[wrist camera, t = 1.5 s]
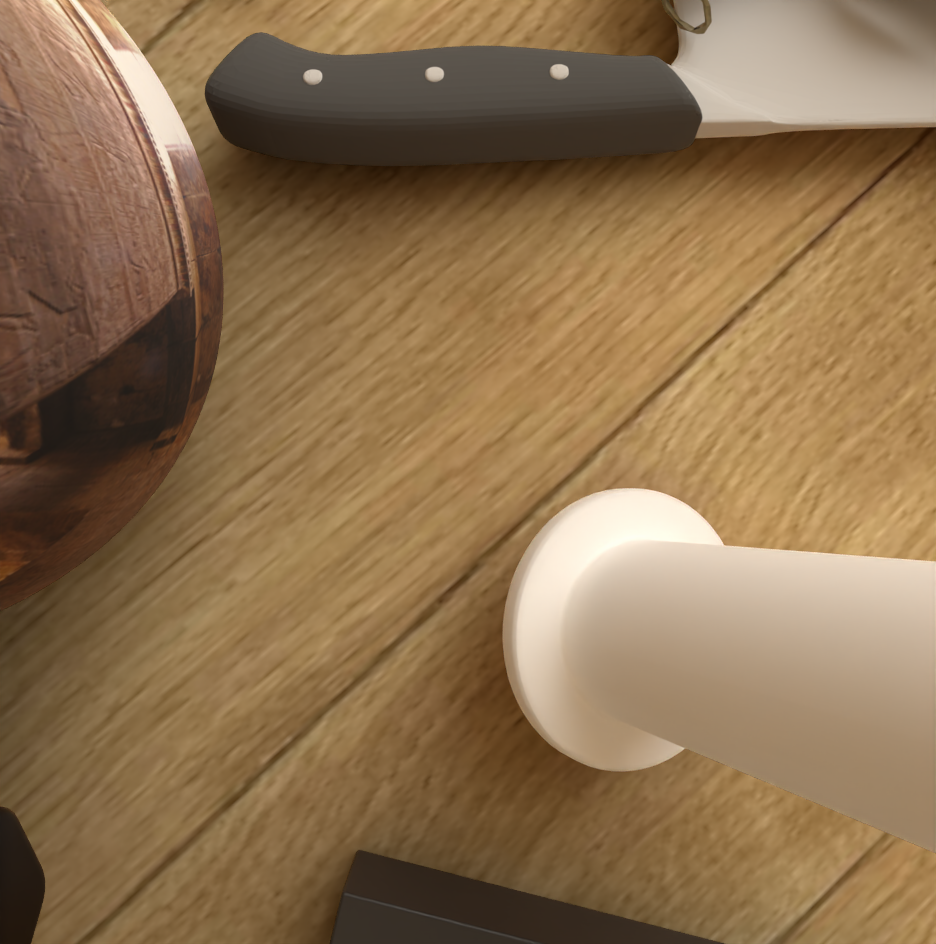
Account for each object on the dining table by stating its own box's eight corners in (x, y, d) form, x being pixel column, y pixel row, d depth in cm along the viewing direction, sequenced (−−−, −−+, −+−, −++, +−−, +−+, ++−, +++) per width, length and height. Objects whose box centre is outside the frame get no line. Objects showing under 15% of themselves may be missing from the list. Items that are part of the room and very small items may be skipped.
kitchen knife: (1350, -69, 21) (1415, 94, 20) (1258, 13, 23) (1310, 163, 22) (207, -44, 21) (192, 119, 20) (235, 35, 24) (223, 184, 22)
